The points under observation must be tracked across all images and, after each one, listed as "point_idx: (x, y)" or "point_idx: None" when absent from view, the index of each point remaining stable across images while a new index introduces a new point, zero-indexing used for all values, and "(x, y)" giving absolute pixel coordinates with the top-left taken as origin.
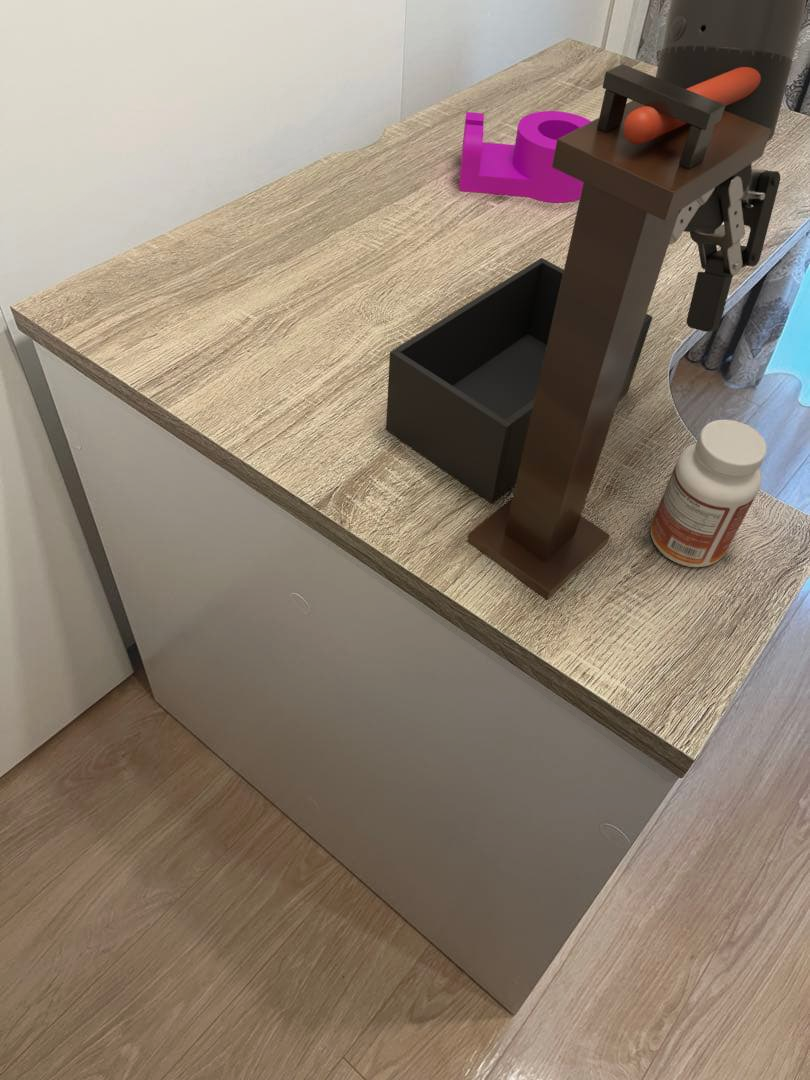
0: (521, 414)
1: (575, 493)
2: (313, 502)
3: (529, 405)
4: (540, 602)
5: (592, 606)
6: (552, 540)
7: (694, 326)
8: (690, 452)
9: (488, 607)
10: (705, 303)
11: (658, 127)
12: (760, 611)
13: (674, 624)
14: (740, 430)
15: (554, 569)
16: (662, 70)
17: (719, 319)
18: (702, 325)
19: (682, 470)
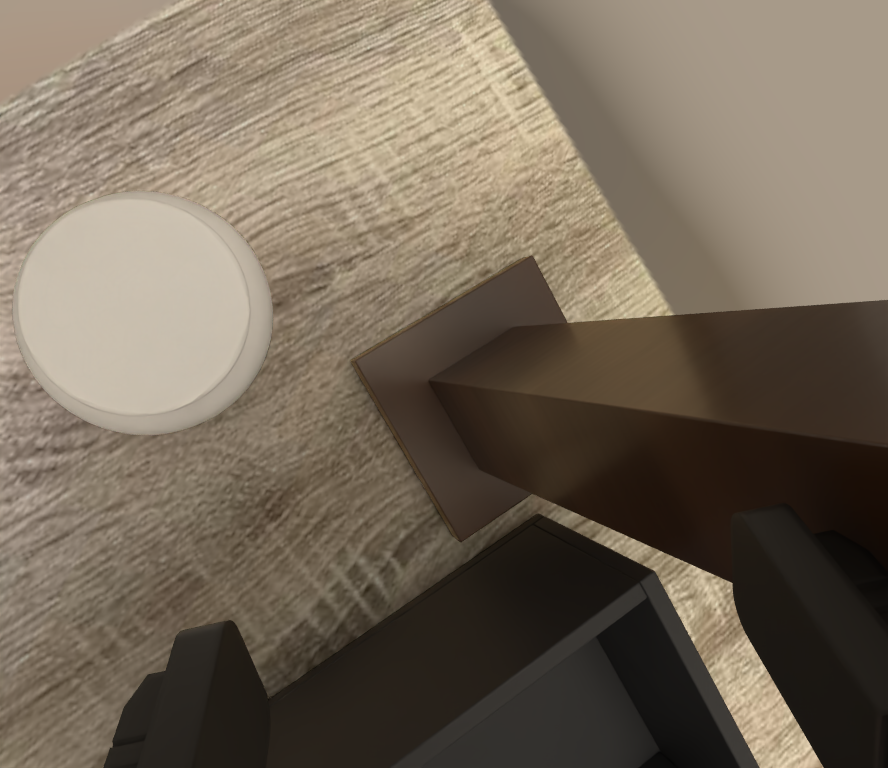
0: (606, 611)
1: (550, 348)
2: None
3: (575, 642)
4: (535, 256)
5: (446, 218)
6: (535, 327)
7: (258, 681)
8: (226, 378)
9: (624, 273)
10: (228, 762)
11: None
12: (91, 91)
13: (304, 126)
14: (83, 350)
15: (503, 304)
16: None
17: (175, 662)
18: (242, 663)
19: (269, 334)
